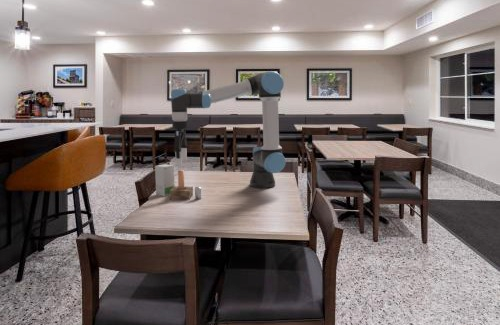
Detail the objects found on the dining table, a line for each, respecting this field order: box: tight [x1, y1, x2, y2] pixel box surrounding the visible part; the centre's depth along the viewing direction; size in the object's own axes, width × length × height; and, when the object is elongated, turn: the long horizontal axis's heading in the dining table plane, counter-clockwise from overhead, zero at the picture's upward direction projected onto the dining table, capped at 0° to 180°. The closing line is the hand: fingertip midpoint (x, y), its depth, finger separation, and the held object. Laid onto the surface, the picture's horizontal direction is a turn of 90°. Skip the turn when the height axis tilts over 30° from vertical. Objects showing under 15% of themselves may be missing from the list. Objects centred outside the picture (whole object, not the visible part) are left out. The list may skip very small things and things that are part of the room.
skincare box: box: [154, 163, 176, 197], centre depth 194 cm, size 8×7×16 cm
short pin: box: [194, 186, 202, 201], centre depth 186 cm, size 3×3×6 cm
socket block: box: [169, 185, 194, 201], centre depth 189 cm, size 10×10×4 cm
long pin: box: [177, 169, 185, 190], centre depth 188 cm, size 3×3×14 cm
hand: (181, 162), depth 187 cm, fingers open, 13 cm apart
